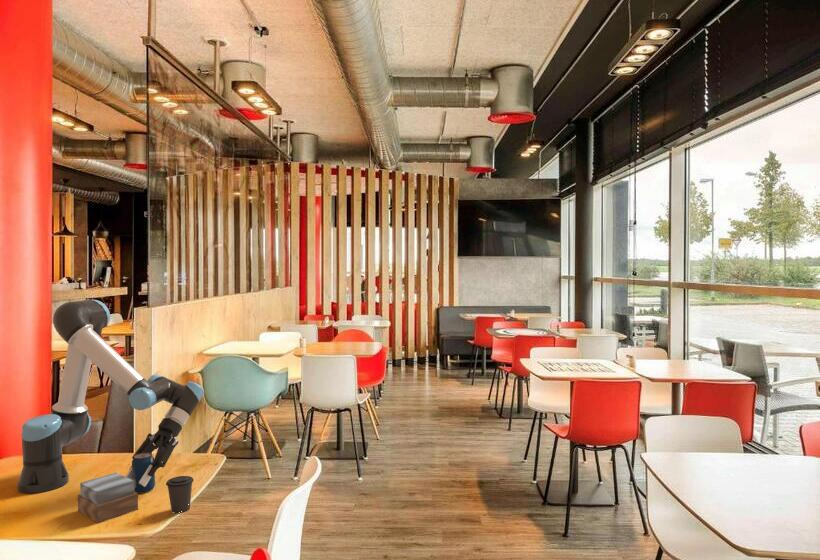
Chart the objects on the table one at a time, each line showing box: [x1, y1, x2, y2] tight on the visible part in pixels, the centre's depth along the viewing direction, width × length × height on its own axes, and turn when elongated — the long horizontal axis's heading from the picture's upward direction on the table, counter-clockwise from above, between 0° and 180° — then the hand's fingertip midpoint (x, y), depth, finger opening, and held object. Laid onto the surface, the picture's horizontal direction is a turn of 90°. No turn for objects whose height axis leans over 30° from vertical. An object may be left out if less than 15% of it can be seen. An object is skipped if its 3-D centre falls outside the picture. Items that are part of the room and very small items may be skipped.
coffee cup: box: [165, 475, 195, 514], centre depth 183 cm, size 8×8×10 cm
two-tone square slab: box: [77, 472, 139, 524], centre depth 184 cm, size 14×12×9 cm
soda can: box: [131, 452, 156, 494], centre depth 200 cm, size 7×7×12 cm
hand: (134, 482), depth 197 cm, fingers closed on soda can, 7 cm apart
